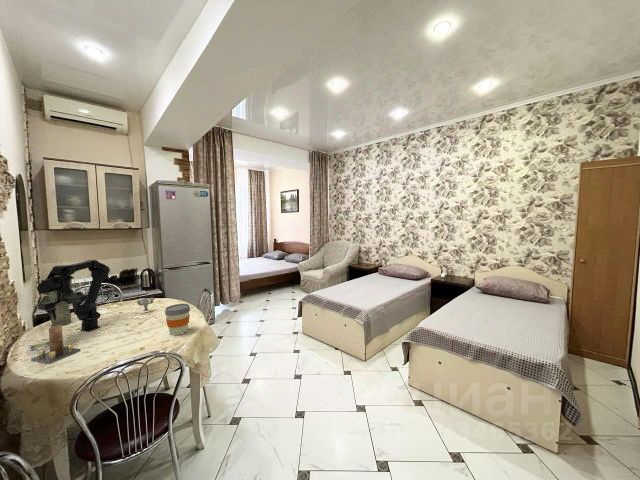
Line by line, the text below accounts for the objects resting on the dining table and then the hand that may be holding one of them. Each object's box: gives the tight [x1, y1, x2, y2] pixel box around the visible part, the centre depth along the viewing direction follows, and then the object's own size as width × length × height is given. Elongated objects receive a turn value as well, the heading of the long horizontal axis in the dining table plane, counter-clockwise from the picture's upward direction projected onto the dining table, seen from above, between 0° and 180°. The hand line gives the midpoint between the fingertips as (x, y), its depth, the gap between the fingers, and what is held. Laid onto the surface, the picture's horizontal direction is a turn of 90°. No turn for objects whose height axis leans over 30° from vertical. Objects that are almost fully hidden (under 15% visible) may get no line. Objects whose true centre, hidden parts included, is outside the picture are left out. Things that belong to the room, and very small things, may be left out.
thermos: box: [44, 270, 73, 327], centre depth 159 cm, size 9×12×35 cm
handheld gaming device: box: [26, 340, 50, 356], centre depth 129 cm, size 9×1×15 cm
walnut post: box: [48, 325, 64, 355], centre depth 121 cm, size 4×4×13 cm
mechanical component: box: [136, 297, 155, 312], centre depth 178 cm, size 3×10×10 cm, turn 148°
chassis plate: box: [30, 343, 81, 365], centre depth 121 cm, size 12×12×4 cm
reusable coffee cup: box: [164, 303, 191, 336], centre depth 146 cm, size 13×13×15 cm
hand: (65, 317), depth 136 cm, fingers open, 9 cm apart
